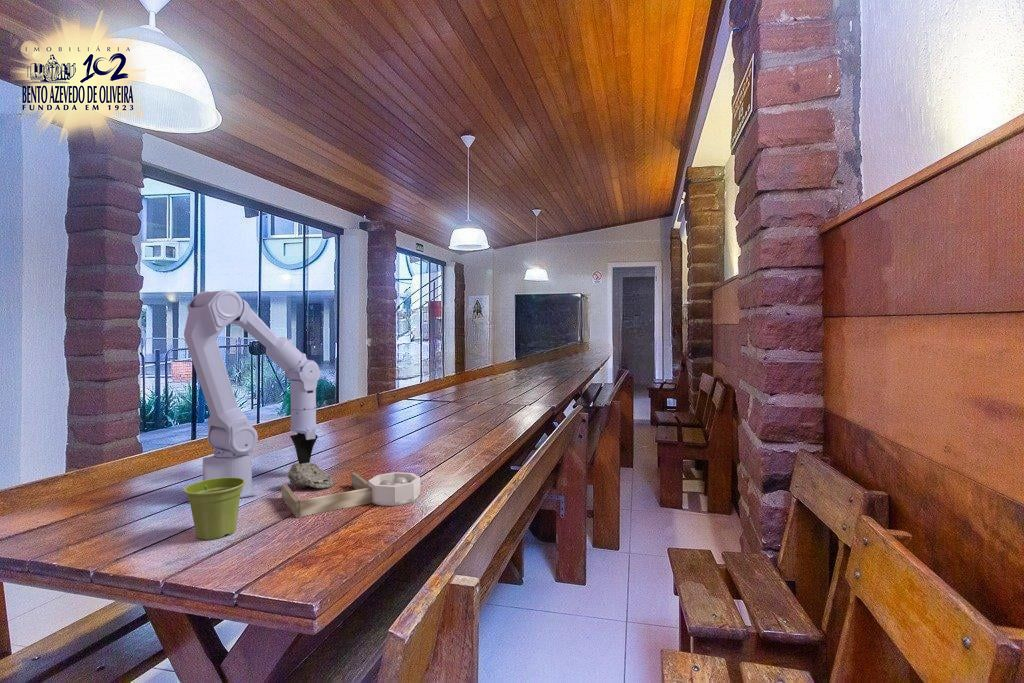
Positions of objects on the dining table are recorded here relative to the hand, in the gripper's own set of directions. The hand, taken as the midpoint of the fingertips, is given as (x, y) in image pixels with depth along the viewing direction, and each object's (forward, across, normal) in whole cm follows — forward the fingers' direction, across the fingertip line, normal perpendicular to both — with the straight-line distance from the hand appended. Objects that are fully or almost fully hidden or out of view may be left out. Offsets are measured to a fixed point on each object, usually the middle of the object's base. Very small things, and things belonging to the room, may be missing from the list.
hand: (304, 463), depth 125 cm
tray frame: (+3, -21, 0) cm, 22 cm away
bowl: (+3, -28, -12) cm, 31 cm away
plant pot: (+3, -28, +21) cm, 35 cm away
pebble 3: (+1, -27, -14) cm, 31 cm away
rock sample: (+3, -10, 0) cm, 10 cm away
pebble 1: (+1, -27, -10) cm, 29 cm away
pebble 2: (+1, -31, -12) cm, 33 cm away
